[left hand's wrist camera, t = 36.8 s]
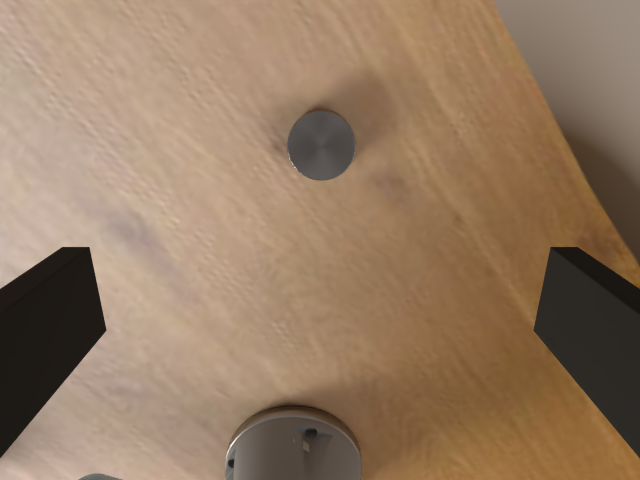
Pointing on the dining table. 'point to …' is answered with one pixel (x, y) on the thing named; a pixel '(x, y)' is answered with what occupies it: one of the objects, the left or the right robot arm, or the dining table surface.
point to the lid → (321, 145)
